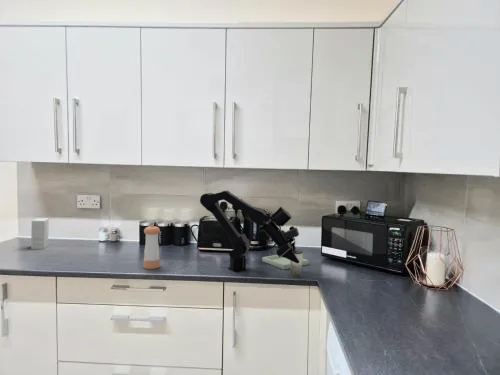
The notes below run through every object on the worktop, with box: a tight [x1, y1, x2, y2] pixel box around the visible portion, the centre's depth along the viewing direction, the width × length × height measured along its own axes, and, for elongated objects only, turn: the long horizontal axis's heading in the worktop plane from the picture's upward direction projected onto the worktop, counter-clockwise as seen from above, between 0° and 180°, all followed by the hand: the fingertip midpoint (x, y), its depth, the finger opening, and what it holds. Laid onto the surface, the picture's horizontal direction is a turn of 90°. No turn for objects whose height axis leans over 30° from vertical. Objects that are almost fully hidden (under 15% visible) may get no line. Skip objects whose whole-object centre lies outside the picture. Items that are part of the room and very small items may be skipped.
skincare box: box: [30, 217, 49, 250], centre depth 181 cm, size 8×7×16 cm
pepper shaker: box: [143, 224, 161, 270], centre depth 151 cm, size 7×7×19 cm
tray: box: [261, 254, 310, 270], centre depth 163 cm, size 16×16×2 cm
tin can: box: [289, 248, 304, 278], centre depth 144 cm, size 5×5×11 cm
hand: (299, 260), depth 143 cm, fingers open, 7 cm apart
